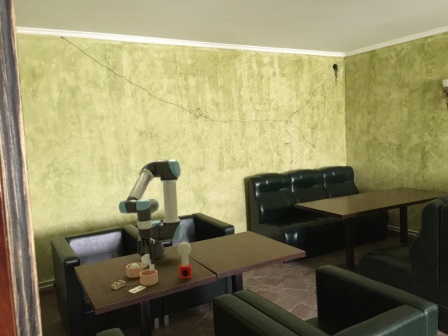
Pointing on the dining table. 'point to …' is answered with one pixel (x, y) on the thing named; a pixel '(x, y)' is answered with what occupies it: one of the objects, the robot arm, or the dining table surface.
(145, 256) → the ball grey
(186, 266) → the toy
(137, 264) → the ball sage
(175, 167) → the robot arm
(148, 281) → the cup
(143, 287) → the card
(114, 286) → the cradle
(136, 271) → the cup
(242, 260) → the dining table surface
